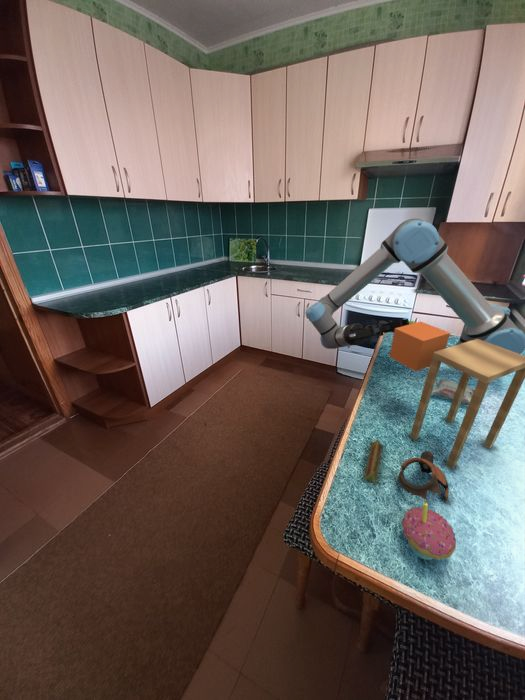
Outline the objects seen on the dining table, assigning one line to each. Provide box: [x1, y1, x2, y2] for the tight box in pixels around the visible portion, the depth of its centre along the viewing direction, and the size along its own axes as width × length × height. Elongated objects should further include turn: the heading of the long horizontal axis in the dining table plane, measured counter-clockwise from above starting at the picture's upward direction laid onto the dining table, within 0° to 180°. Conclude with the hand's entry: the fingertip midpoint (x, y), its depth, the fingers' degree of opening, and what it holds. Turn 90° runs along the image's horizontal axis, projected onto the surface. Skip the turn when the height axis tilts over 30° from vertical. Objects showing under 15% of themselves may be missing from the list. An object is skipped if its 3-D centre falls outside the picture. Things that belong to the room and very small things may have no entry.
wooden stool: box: [409, 339, 525, 470], centre depth 71 cm, size 16×12×26 cm
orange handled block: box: [378, 320, 451, 372], centre depth 83 cm, size 10×19×9 cm, turn 25°
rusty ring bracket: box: [398, 450, 450, 502], centre depth 64 cm, size 12×10×8 cm
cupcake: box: [401, 499, 457, 561], centre depth 51 cm, size 9×8×12 cm
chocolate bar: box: [363, 439, 383, 484], centre depth 71 cm, size 3×12×2 cm, turn 154°
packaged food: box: [432, 378, 475, 406], centre depth 92 cm, size 9×12×5 cm
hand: (404, 324), depth 82 cm, fingers closed on orange handled block, 2 cm apart
